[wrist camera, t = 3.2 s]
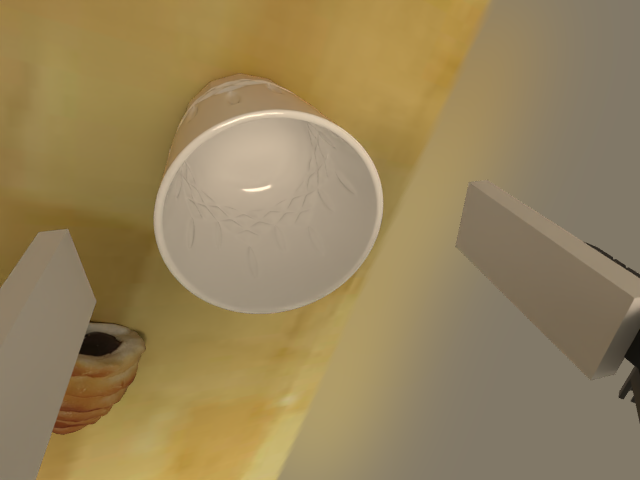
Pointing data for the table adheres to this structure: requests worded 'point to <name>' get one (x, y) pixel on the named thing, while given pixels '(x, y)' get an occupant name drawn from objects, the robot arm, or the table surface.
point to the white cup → (264, 199)
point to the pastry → (99, 375)
